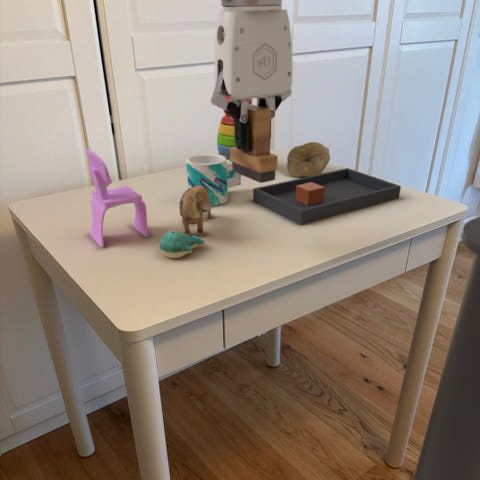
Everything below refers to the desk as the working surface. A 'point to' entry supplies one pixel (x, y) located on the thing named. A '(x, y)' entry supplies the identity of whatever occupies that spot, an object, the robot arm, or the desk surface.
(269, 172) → the brush
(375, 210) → the desk surface
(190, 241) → the whale figurine
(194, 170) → the mug
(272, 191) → the tray
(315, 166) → the fossil
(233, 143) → the stacking bear
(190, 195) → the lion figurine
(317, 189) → the reddish brown block
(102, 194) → the toy chair
